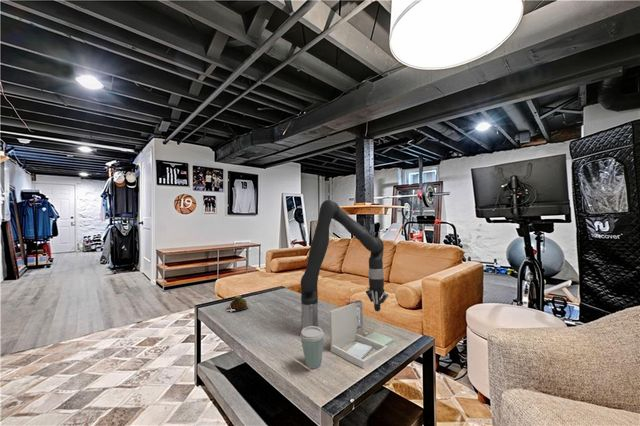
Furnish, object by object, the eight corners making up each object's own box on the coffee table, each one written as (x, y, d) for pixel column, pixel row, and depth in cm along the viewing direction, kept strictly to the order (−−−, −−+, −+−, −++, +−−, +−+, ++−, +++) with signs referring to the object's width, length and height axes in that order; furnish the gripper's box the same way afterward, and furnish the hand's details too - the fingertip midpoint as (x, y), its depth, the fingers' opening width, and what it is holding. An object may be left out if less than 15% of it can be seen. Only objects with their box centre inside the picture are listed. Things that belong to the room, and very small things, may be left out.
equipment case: (363, 368, 111) (362, 323, 111) (330, 351, 126) (329, 311, 126) (389, 352, 123) (388, 311, 123) (356, 338, 138) (355, 302, 138)
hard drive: (360, 358, 116) (372, 346, 126) (344, 352, 121) (357, 341, 131) (360, 361, 116) (372, 349, 126) (344, 356, 121) (357, 345, 131)
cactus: (243, 303, 201) (243, 290, 201) (254, 308, 189) (254, 294, 189) (221, 309, 188) (221, 296, 188) (232, 315, 177) (231, 300, 177)
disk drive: (349, 331, 147) (348, 304, 147) (346, 329, 149) (345, 303, 149) (363, 326, 152) (362, 300, 153) (360, 324, 155) (359, 299, 155)
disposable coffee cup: (330, 366, 113) (329, 331, 113) (309, 375, 107) (308, 338, 107) (316, 355, 122) (315, 323, 122) (296, 363, 116) (295, 329, 116)
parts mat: (382, 349, 126) (382, 346, 126) (362, 340, 135) (362, 337, 135) (394, 342, 133) (393, 339, 133) (374, 334, 142) (374, 331, 142)
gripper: (391, 277, 132) (392, 312, 132) (370, 273, 142) (371, 306, 142) (382, 280, 127) (384, 316, 127) (361, 276, 137) (362, 309, 137)
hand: (377, 310), depth 134 cm, fingers closed
